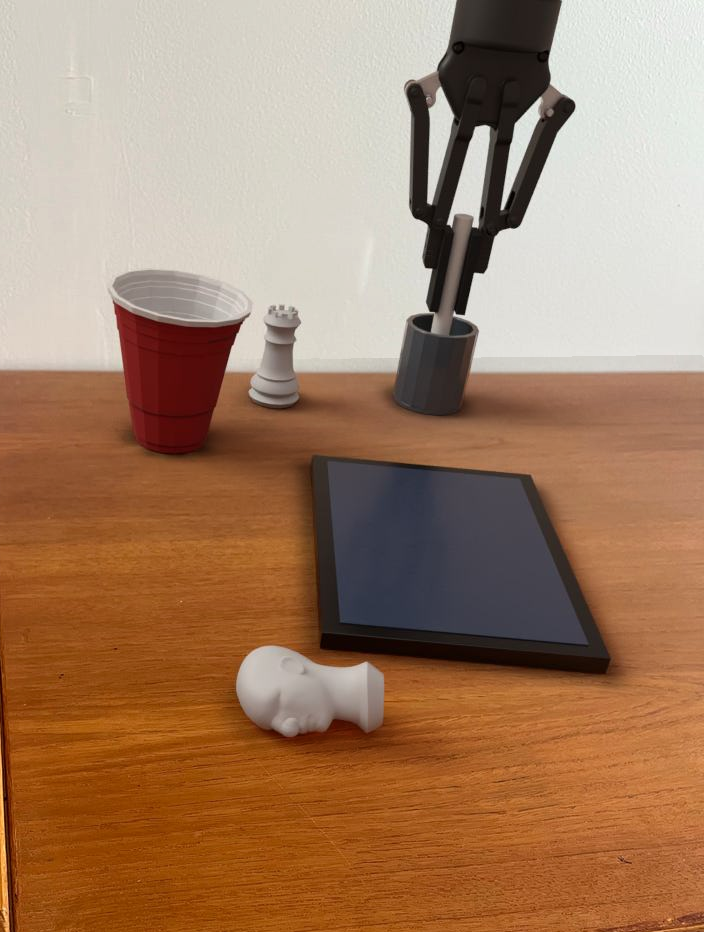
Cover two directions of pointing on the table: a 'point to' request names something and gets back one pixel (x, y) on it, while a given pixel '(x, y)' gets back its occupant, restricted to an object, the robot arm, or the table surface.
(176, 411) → the plastic cup
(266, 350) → the rook chess piece
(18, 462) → the table surface
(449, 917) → the table surface
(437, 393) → the pen pot
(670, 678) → the table surface
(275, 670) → the white mannequin head
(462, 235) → the stylus
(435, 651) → the tablet
